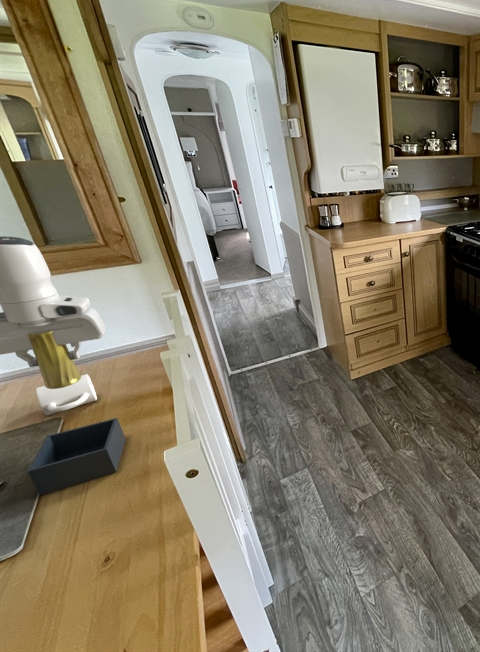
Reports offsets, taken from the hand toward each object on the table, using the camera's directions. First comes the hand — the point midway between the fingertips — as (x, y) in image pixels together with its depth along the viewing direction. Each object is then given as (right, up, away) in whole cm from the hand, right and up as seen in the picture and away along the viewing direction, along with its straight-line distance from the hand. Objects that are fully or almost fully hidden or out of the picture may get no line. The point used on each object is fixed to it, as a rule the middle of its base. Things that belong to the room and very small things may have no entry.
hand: (56, 361), depth 90 cm
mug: (-11, -16, +14) cm, 24 cm away
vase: (0, -5, +2) cm, 6 cm away
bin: (+11, -23, -3) cm, 26 cm away
